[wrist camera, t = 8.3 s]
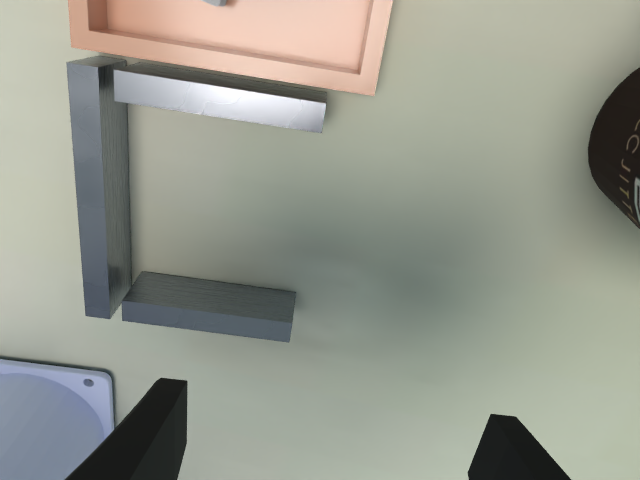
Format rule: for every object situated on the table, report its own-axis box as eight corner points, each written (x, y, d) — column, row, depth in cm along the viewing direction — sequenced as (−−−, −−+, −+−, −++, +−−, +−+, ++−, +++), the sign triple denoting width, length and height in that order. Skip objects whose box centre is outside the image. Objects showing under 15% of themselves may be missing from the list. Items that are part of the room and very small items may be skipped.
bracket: (109, 285, 22) (85, 316, 20) (98, 55, 18) (66, 62, 15) (292, 310, 22) (289, 342, 20) (326, 92, 18) (326, 103, 16)
